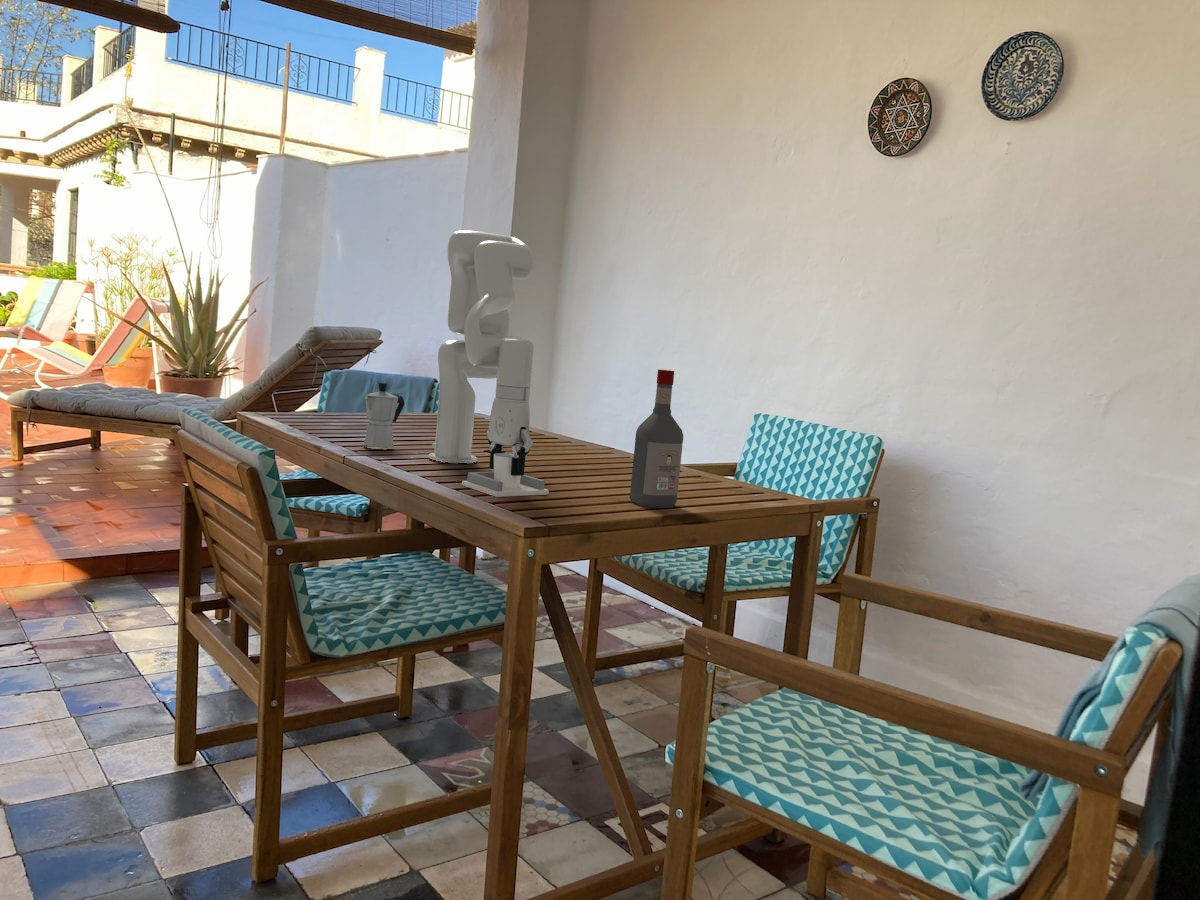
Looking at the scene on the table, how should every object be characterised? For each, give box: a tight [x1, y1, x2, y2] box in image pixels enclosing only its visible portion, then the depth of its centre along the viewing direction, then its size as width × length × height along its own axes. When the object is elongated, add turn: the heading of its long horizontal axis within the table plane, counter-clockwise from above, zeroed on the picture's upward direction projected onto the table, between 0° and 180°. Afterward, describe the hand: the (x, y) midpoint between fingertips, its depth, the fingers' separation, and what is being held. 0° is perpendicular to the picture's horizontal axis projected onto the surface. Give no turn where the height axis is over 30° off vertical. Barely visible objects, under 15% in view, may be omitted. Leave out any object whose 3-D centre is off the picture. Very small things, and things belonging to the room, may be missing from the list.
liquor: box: [629, 369, 684, 509], centre depth 208 cm, size 9×9×30 cm
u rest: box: [461, 471, 550, 498], centre depth 211 cm, size 14×14×3 cm
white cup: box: [493, 452, 521, 488], centre depth 210 cm, size 7×7×7 cm
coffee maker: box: [363, 382, 405, 448], centre depth 258 cm, size 15×9×18 cm, turn 148°
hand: (506, 471), depth 210 cm, fingers open, 8 cm apart
